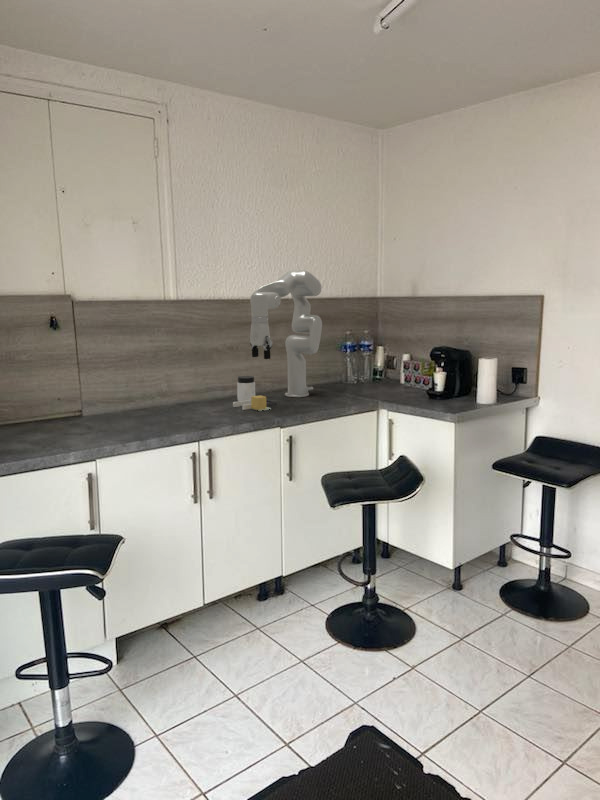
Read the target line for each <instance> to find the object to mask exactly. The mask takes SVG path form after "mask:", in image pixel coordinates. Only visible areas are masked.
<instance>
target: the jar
mask: <svg viewBox="0 0 600 800" xmlns="http://www.w3.org/2000/svg"><path fill="white" fill-rule="evenodd" d="M236 391H237V395H236V397H237V402H238V401H245V400H251V396H256V382H255V377H254V375H240V376H237V383H236Z"/></svg>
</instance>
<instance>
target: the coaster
mask: <svg viewBox="0 0 600 800" xmlns="http://www.w3.org/2000/svg"><path fill="white" fill-rule="evenodd" d="M269 409H270V410H272V407H269V406H266V409H260V410H258V411H257V410H256V409H253V408H252V409H251V410H255V411H257V412H263V411H262V410H264V411H270V410H269Z"/></svg>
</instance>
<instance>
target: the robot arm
mask: <svg viewBox="0 0 600 800" xmlns="http://www.w3.org/2000/svg"><path fill="white" fill-rule="evenodd" d="M321 292H322V284H321V282H320V280H319V279H318V278H317V277H316V276H314V274H313V273H311V272H310V271H307V270H290V271H287V272H285V274H283V275H282V276H281V277H280V278H278V279H277V280H275V281H273V282H271V283H268V284H265V285H262V286H260V287H258V288H257V289H256V290H254V291H253V292H252V294H251V295H250V299H249V302H250V305H251V306H250V307H251V324H250V325H251V326H250V334H249V335H250V337H249V338H248V340H249V344H250V348H251V357H252V358H257V357H259V348H258V347H263V359H264V360H271V350H272V347H273V343H274V342H273V340H272V339H271V336H270V335H271V333H270V332H271V331H270V327H269V326H270V325H269V309H277V308H278V307H280V304H281V301H282V298H285V297H286V296H288V295H291V297H292V300H293V303H294V309H293V313H292V315H293V316H292V321H291V330H292V332H294V333H296V334H290V335H289V336H287V337H286V339H285V342H284V343H285V345H284V346H285V350H286V357H287V392H285V393H284V396H285V397H288V398H305V397H308V396H310V393H309V391H313V390H314V387H313V386H307V361H306V359H305V357H304V355H303V354H305V355H314V354H316V353H318V351H319V349H320V348H319V347H320V343H321V336H322V331H323V322H322V318H321V317H320V316H319V315H318V314H311V310H312V308H311V307H312V306H311V303H310V302H309V300H308V299H307V297H317V296H319V295H320V294H321Z"/></svg>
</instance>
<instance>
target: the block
mask: <svg viewBox="0 0 600 800" xmlns="http://www.w3.org/2000/svg"><path fill="white" fill-rule="evenodd" d="M266 400H267V396H265V395H259V394H258V395H255V396H251V408H253V409H252V410H254V409H256V410H255V411H257V410H260V409H266V407H267V406H266Z"/></svg>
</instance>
